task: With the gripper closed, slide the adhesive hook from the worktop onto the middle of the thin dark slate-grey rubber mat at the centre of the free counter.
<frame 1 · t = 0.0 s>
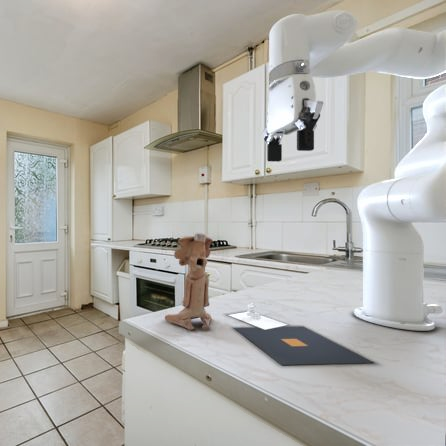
hand: (288, 156, 61), 37 cm above the counter, tool pointing down, fingers open, 9 cm apart
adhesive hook: (256, 320, 62), on the counter, touching centre mat
figurine: (190, 325, 60), on the counter
centre mat: (294, 343, 50), on the counter
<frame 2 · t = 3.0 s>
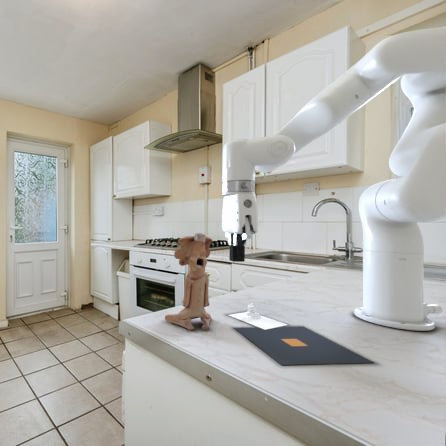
hand: (236, 261, 70), 12 cm above the counter, tool pointing down, fingers closed
nothing on the counter moved.
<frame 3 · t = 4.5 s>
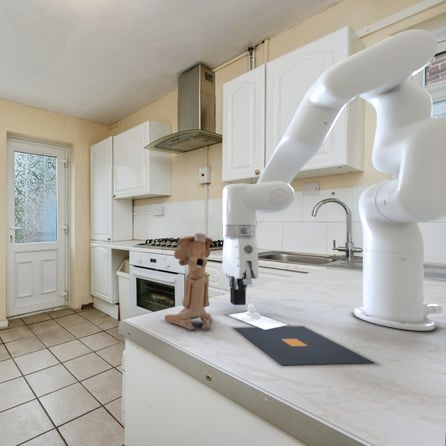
hand: (237, 303, 70), 1 cm above the counter, tool pointing down, fingers closed
nothing on the counter moved.
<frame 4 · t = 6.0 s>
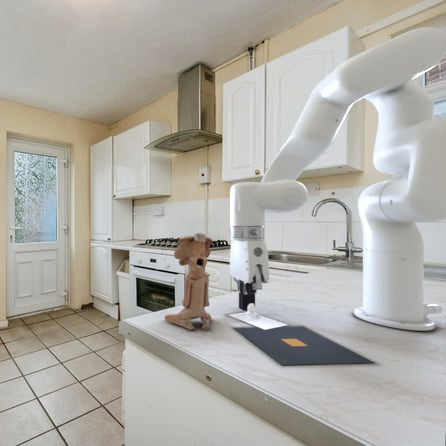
hand: (246, 309, 66), 1 cm above the counter, tool pointing down, fingers closed
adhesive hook: (256, 320, 62), on the counter, touching centre mat, gripper
everything else where it was.
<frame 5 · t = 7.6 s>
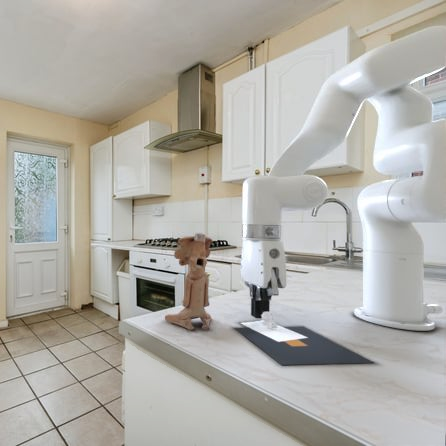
hand: (260, 317, 60), 1 cm above the counter, tool pointing down, fingers closed
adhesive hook: (271, 330, 56), on the counter, touching centre mat
everything else where it was.
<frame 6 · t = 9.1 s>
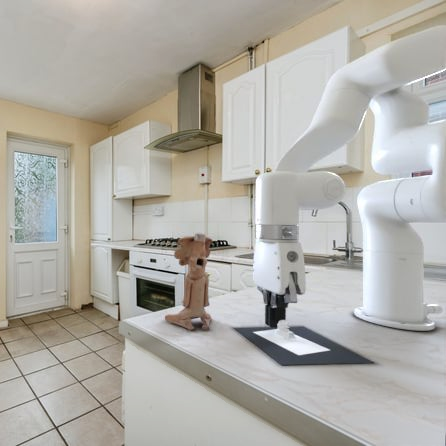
hand: (275, 325, 55), 1 cm above the counter, tool pointing down, fingers closed
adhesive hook: (288, 341, 51), resting on centre mat, touching gripper
everything else where it was.
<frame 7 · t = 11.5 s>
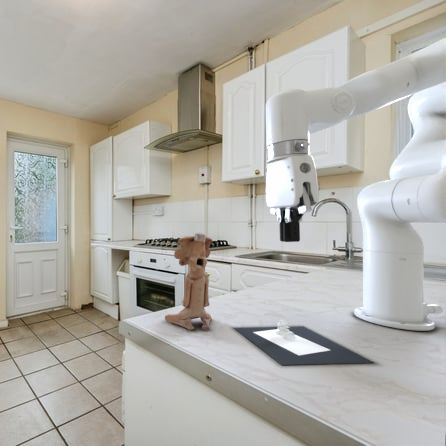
hand: (289, 241, 57), 18 cm above the counter, tool pointing down, fingers closed
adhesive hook: (288, 341, 51), resting on centre mat
everything else where it was.
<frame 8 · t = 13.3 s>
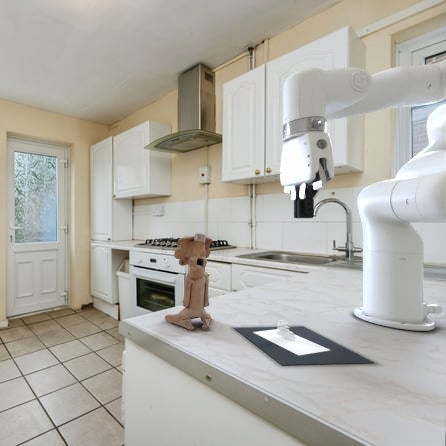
hand: (303, 217, 59), 23 cm above the counter, tool pointing down, fingers closed
nothing on the counter moved.
at the end: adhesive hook inside the target area (1.1 cm from its centre), resting on centre mat; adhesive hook tilted 0° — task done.
